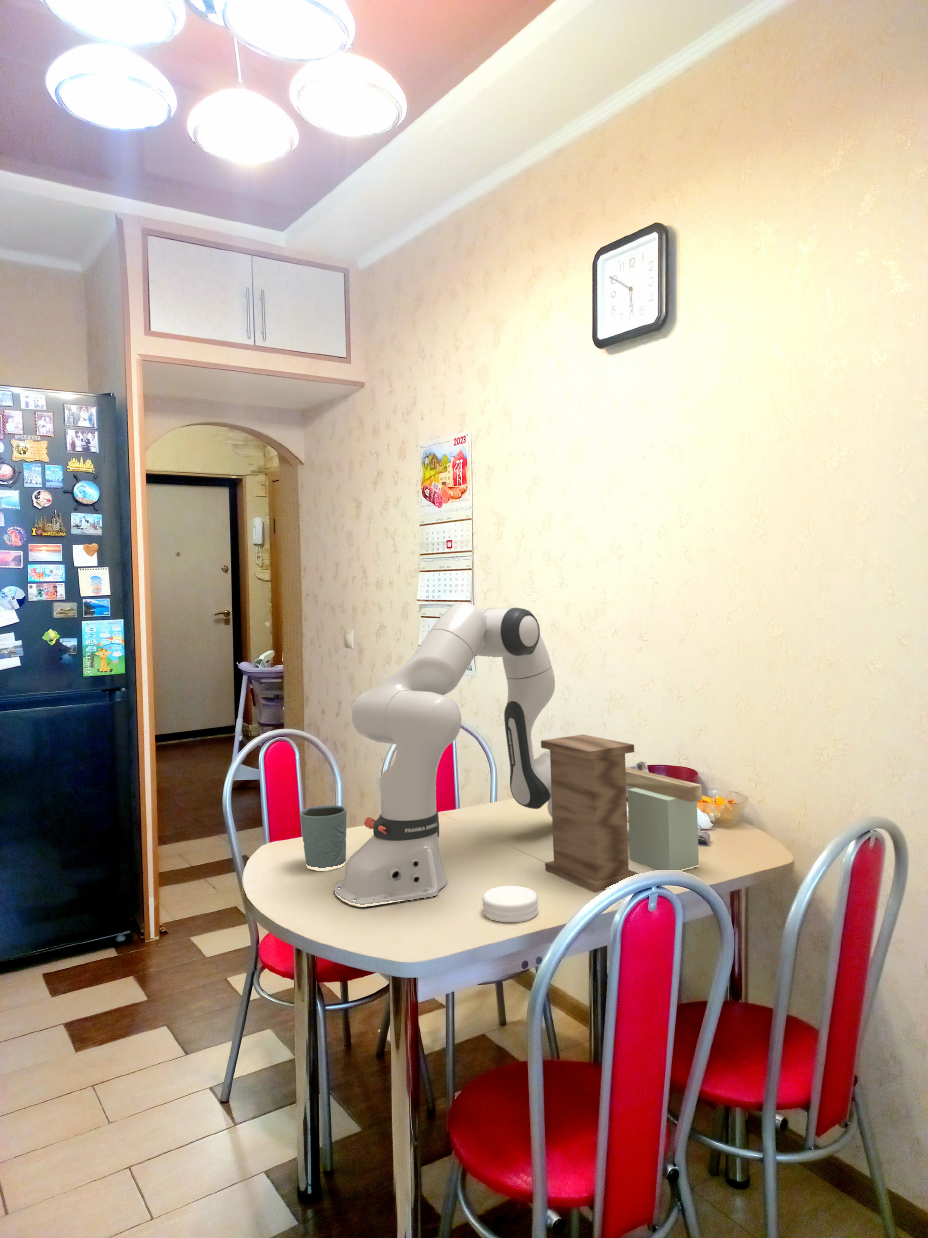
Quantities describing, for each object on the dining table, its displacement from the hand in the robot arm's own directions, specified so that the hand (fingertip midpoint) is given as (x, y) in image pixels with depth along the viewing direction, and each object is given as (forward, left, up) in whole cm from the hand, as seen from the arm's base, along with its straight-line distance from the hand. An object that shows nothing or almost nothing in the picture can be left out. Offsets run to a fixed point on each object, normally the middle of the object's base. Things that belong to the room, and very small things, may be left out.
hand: (628, 767), depth 182 cm
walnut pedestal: (-17, -7, -18) cm, 26 cm away
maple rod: (0, -8, -3) cm, 9 cm away
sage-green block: (0, -10, -18) cm, 21 cm away
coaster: (-41, -14, -19) cm, 47 cm away
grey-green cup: (-59, +32, -19) cm, 70 cm away
